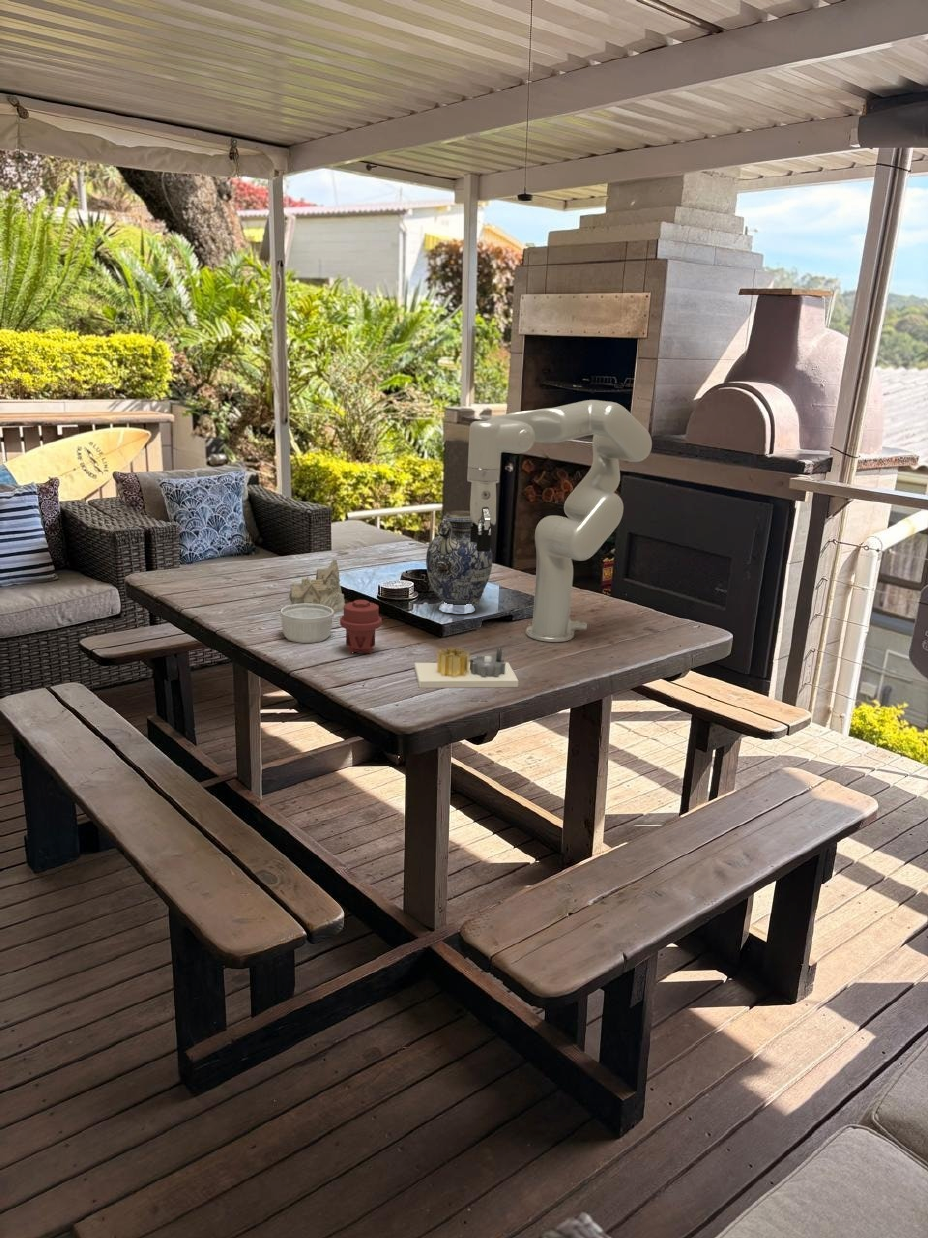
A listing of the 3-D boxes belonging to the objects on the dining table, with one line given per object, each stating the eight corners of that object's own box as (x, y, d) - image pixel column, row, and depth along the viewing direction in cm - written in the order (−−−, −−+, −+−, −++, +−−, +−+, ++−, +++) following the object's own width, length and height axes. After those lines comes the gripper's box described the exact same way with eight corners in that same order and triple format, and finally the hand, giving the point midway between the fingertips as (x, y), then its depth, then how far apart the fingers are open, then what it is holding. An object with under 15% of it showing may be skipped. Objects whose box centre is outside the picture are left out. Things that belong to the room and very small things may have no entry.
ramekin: (343, 634, 234) (343, 608, 232) (314, 648, 223) (314, 621, 221) (300, 625, 239) (300, 600, 237) (269, 639, 228) (269, 612, 226)
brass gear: (465, 666, 211) (466, 647, 210) (470, 677, 204) (471, 658, 203) (435, 666, 210) (435, 647, 209) (438, 677, 203) (439, 658, 202)
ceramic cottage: (347, 598, 265) (344, 548, 260) (344, 617, 250) (341, 564, 245) (293, 600, 264) (289, 550, 259) (287, 619, 249) (282, 566, 244)
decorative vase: (465, 624, 247) (469, 521, 239) (409, 612, 256) (411, 513, 248) (504, 607, 264) (509, 511, 256) (450, 597, 273) (453, 503, 266)
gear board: (507, 668, 215) (509, 640, 213) (517, 687, 204) (519, 657, 202) (414, 668, 212) (415, 640, 210) (419, 687, 201) (420, 657, 199)
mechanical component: (338, 657, 217) (340, 643, 227) (381, 657, 218) (381, 644, 228) (339, 607, 214) (341, 595, 223) (382, 608, 215) (382, 596, 224)
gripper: (506, 481, 206) (501, 555, 211) (492, 470, 223) (489, 539, 228) (473, 480, 205) (469, 554, 210) (462, 469, 222) (459, 538, 227)
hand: (479, 546), depth 219 cm, fingers open, 9 cm apart
